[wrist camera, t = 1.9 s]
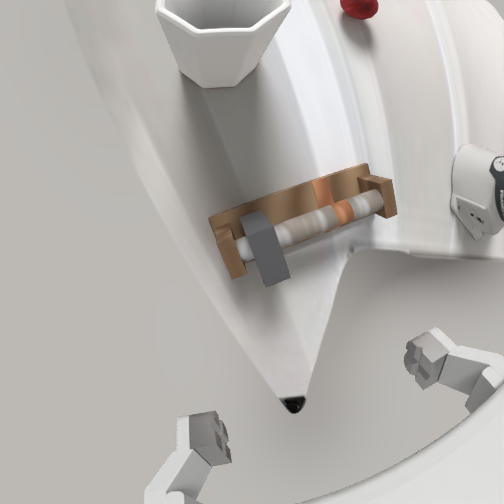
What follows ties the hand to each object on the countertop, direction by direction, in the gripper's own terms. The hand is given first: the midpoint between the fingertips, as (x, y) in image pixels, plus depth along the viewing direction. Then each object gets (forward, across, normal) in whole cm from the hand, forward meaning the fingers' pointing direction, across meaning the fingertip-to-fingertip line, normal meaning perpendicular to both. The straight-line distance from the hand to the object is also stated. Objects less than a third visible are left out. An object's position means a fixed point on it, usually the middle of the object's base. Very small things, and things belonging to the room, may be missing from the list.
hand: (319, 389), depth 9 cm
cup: (+32, -3, -22) cm, 39 cm away
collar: (+28, -2, +3) cm, 29 cm away
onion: (+31, -26, -29) cm, 50 cm away
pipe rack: (+31, -9, +3) cm, 33 cm away
